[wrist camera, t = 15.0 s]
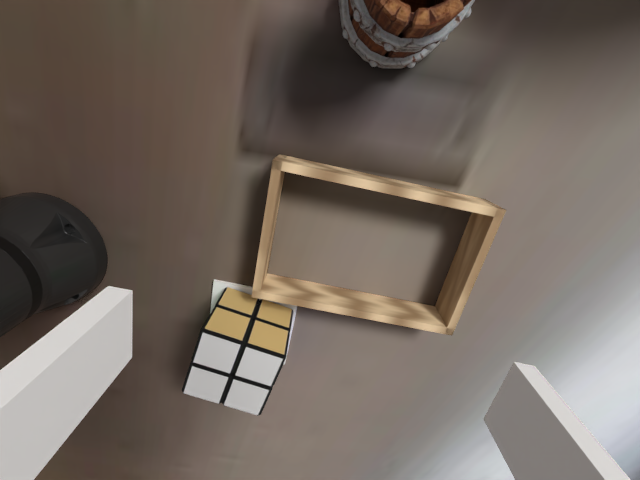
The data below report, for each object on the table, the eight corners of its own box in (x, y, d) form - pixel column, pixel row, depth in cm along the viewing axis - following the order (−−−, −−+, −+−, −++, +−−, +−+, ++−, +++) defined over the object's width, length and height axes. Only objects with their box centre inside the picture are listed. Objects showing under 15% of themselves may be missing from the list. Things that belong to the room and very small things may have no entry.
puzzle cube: (272, 361, 49) (259, 418, 40) (208, 340, 48) (179, 394, 39) (294, 308, 46) (286, 357, 36) (226, 285, 45) (200, 329, 35)
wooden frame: (258, 278, 45) (251, 297, 40) (279, 154, 39) (272, 159, 34) (439, 313, 46) (451, 335, 41) (485, 199, 40) (506, 210, 36)
